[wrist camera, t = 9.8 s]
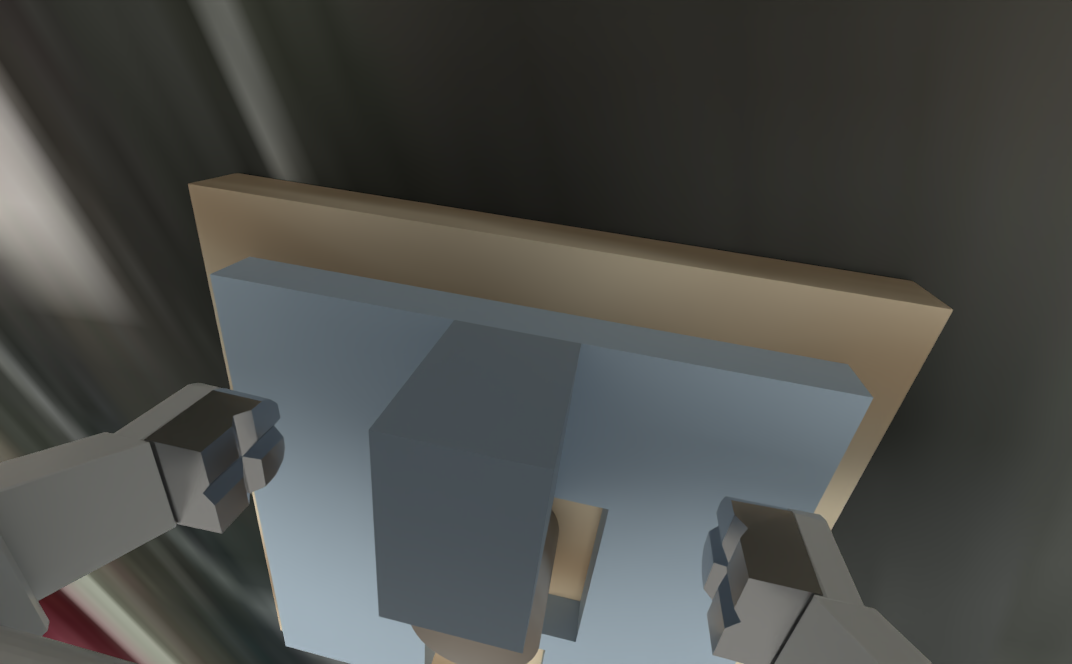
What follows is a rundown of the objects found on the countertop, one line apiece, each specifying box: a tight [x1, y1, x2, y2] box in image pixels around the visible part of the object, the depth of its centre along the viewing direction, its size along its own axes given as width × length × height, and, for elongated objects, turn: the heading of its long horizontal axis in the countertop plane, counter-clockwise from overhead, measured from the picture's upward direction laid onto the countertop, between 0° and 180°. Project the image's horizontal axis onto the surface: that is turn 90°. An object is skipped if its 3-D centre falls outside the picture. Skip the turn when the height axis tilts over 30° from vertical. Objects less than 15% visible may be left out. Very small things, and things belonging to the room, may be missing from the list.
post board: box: [188, 173, 953, 664], centre depth 13 cm, size 16×16×4 cm
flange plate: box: [210, 257, 873, 664], centre depth 11 cm, size 13×13×5 cm
